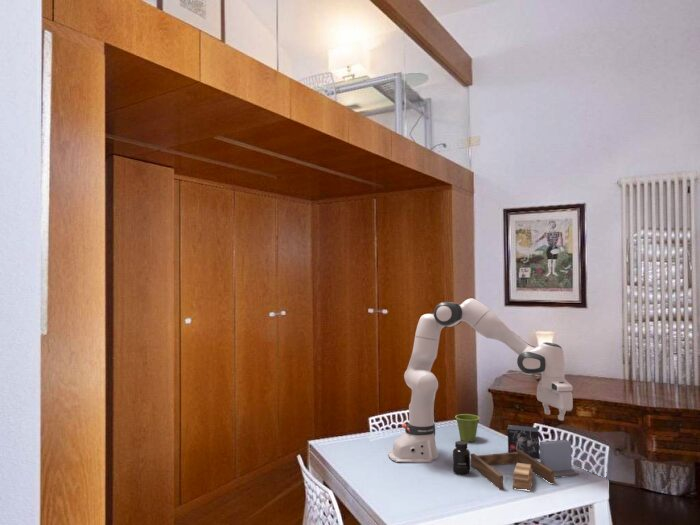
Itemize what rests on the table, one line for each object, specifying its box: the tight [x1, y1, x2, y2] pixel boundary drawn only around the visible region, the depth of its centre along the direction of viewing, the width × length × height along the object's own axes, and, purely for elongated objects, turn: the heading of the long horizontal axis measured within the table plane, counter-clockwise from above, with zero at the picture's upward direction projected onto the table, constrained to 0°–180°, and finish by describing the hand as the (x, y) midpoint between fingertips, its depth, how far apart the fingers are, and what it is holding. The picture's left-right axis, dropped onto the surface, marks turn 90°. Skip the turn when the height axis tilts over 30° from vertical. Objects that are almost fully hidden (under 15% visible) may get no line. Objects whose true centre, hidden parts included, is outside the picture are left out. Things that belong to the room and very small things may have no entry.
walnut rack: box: [470, 450, 555, 490], centre depth 201 cm, size 22×26×5 cm
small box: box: [507, 424, 540, 460], centre depth 223 cm, size 13×7×12 cm, turn 70°
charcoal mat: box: [554, 468, 580, 478], centre depth 203 cm, size 12×12×1 cm
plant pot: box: [454, 413, 480, 443], centre depth 246 cm, size 12×12×11 cm
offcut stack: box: [512, 463, 534, 491], centre depth 191 cm, size 14×6×6 cm, turn 155°
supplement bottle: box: [452, 440, 471, 476], centre depth 204 cm, size 7×7×12 cm
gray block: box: [539, 439, 573, 471], centre depth 203 cm, size 12×3×11 cm, turn 101°
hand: (554, 417), depth 204 cm, fingers open, 8 cm apart
